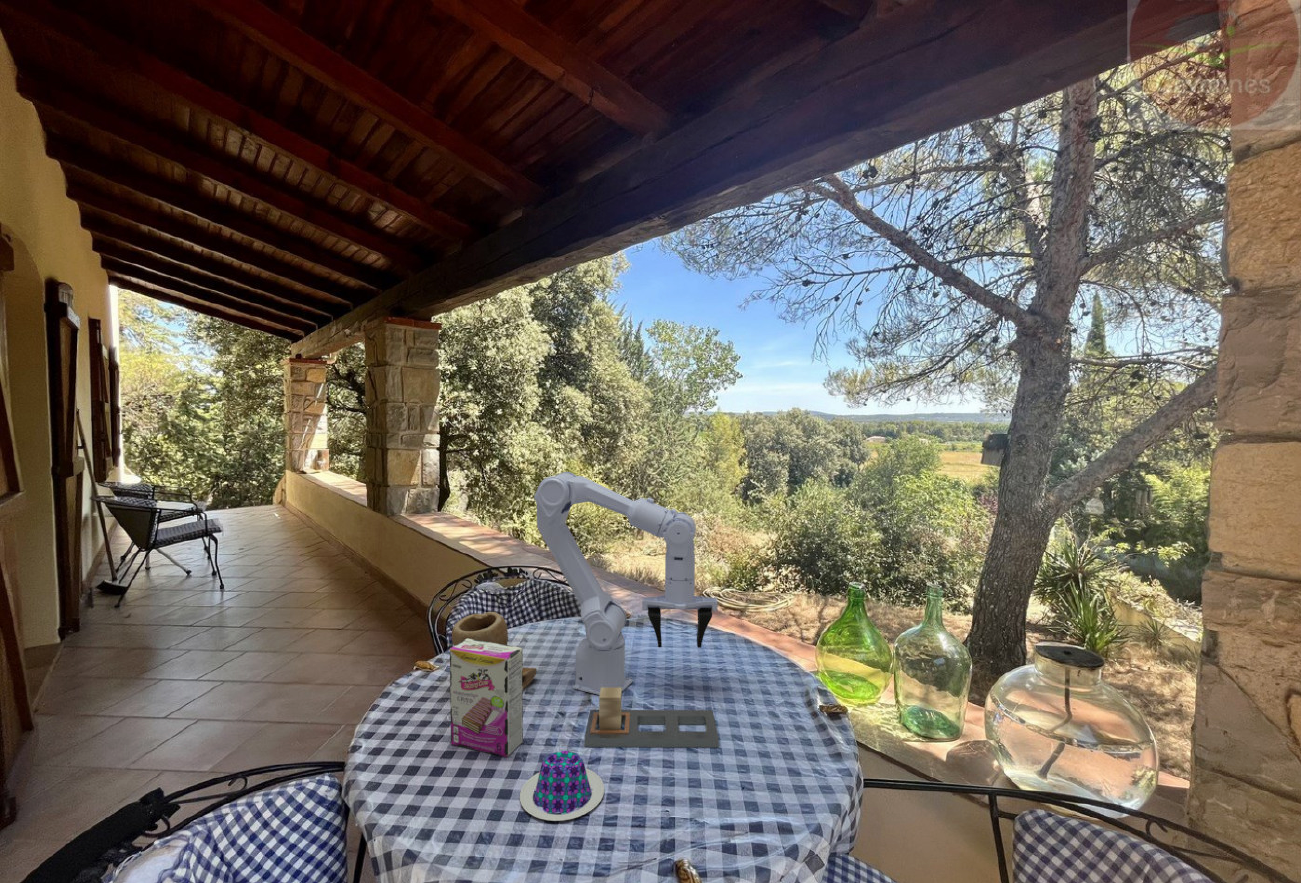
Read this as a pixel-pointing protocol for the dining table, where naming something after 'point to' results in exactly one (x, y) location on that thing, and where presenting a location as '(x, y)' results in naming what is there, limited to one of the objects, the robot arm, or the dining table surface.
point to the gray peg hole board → (654, 738)
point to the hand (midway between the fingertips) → (679, 645)
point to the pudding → (562, 788)
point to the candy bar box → (486, 696)
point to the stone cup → (487, 634)
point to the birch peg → (610, 708)
